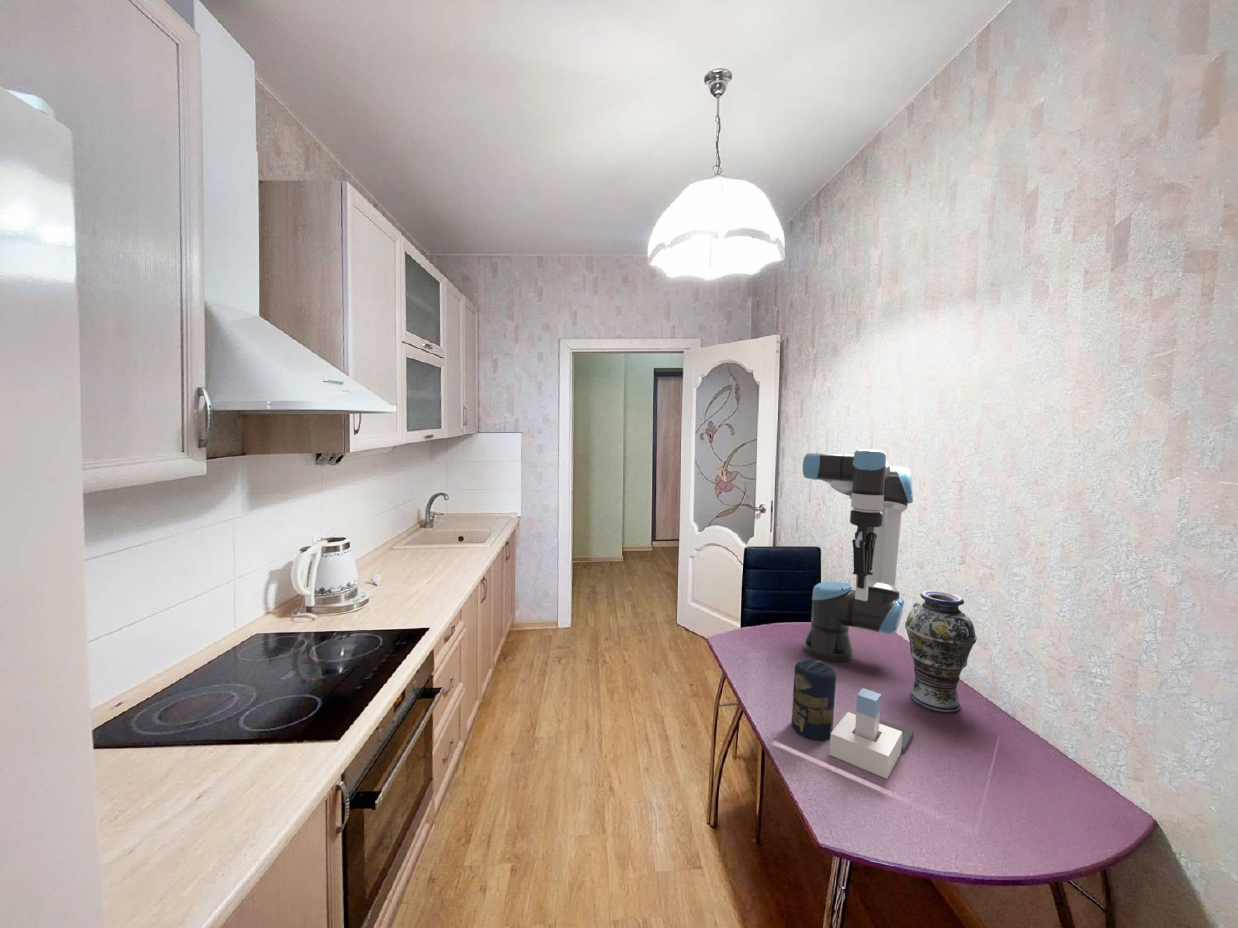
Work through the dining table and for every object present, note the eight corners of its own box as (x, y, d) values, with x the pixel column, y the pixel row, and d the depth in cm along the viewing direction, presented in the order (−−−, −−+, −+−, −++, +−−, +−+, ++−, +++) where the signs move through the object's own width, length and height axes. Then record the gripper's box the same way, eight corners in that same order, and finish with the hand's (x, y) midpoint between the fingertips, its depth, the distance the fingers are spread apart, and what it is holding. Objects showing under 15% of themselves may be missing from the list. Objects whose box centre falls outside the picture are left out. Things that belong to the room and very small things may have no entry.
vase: (943, 724, 134) (951, 610, 131) (885, 691, 149) (892, 589, 147) (986, 712, 140) (995, 602, 137) (927, 682, 156) (934, 583, 153)
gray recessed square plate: (873, 724, 133) (873, 716, 133) (912, 738, 127) (913, 731, 127) (862, 740, 126) (862, 732, 126) (903, 756, 120) (904, 748, 120)
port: (846, 735, 128) (847, 711, 128) (900, 756, 120) (902, 731, 120) (829, 758, 119) (830, 733, 119) (886, 782, 111) (888, 756, 111)
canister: (783, 725, 132) (786, 656, 130) (814, 718, 135) (817, 651, 134) (808, 747, 123) (812, 673, 121) (841, 740, 126) (845, 668, 125)
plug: (859, 745, 122) (862, 687, 121) (877, 752, 120) (881, 694, 119) (853, 753, 119) (857, 694, 118) (872, 761, 117) (876, 700, 116)
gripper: (858, 505, 142) (854, 590, 144) (843, 510, 132) (838, 601, 134) (889, 508, 137) (883, 596, 139) (875, 514, 127) (869, 609, 129)
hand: (861, 599), depth 137 cm, fingers closed
